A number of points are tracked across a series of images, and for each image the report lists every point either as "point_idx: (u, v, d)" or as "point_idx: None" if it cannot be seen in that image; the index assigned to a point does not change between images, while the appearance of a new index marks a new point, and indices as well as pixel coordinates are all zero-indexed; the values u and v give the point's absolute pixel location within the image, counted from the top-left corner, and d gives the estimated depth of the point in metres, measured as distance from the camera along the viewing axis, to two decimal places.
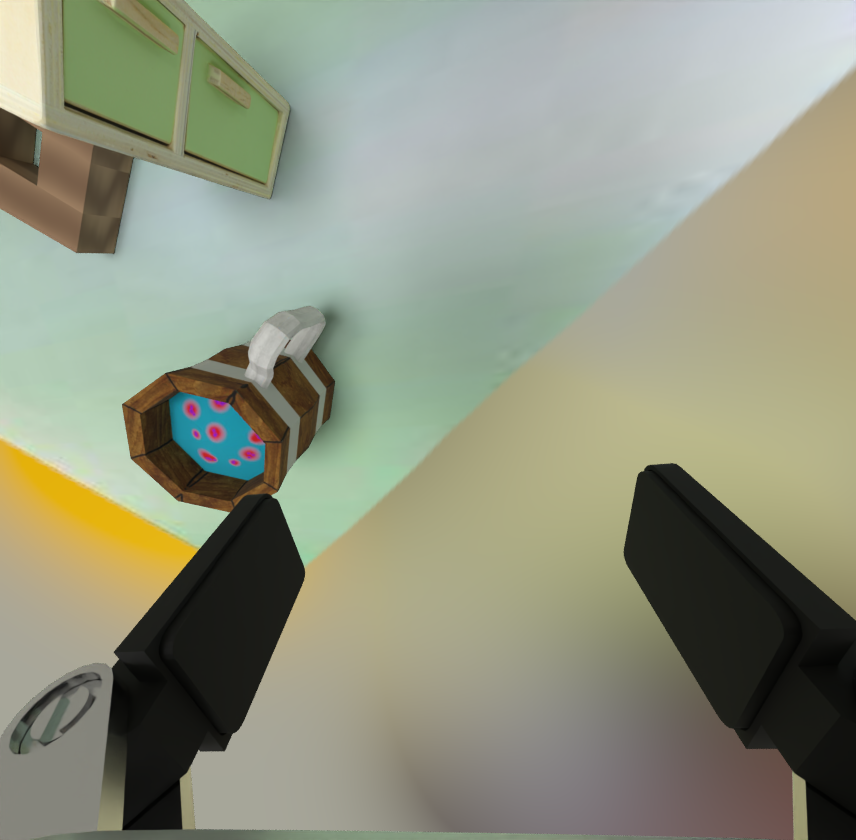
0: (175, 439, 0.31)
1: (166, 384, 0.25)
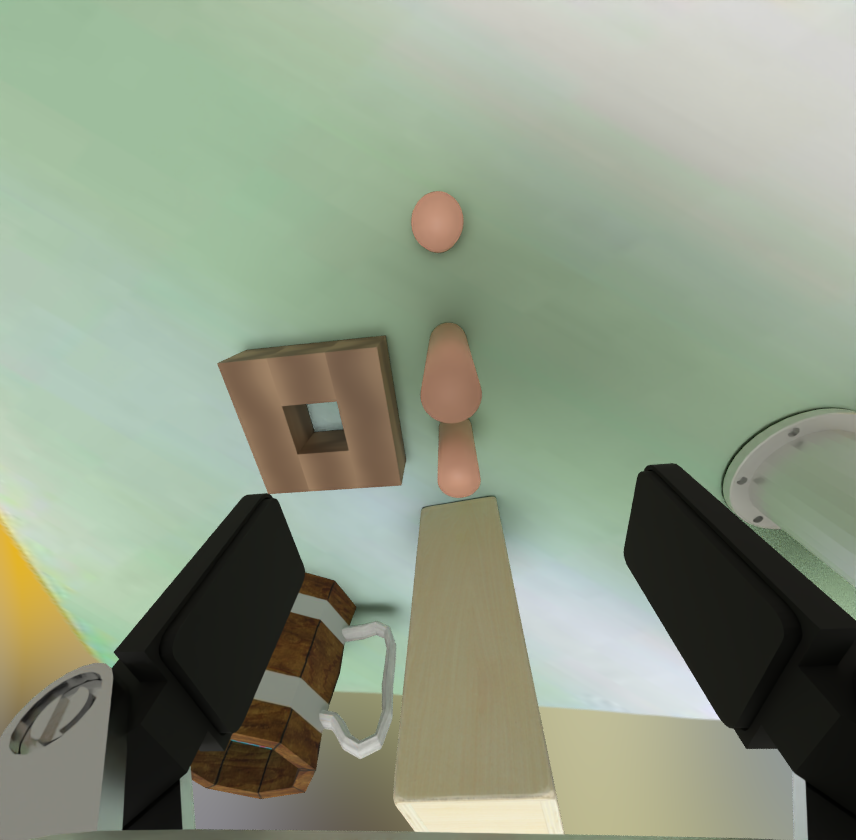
0: None
1: (270, 744, 0.27)
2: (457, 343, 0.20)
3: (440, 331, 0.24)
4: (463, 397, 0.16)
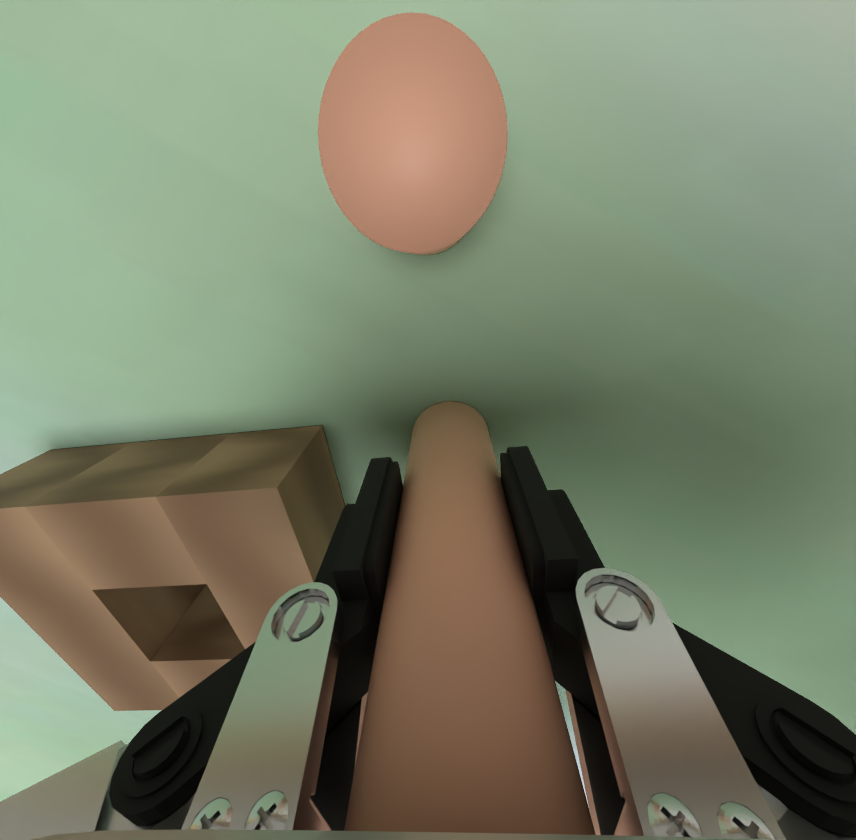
0: None
1: None
2: (483, 545, 0.06)
3: (432, 443, 0.10)
4: None
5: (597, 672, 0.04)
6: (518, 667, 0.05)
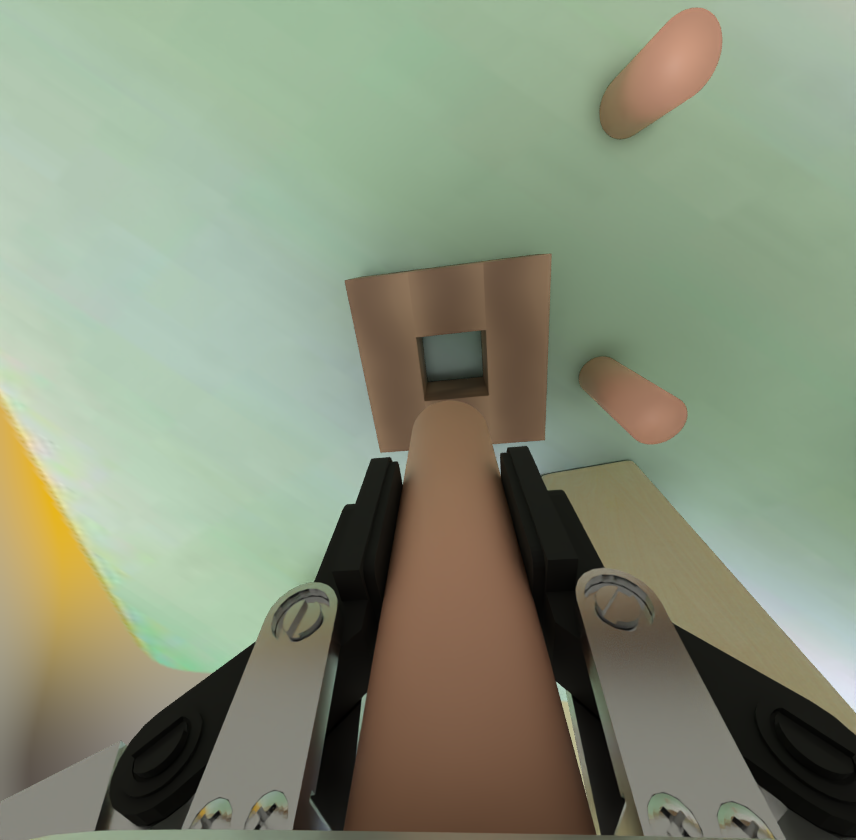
0: None
1: None
2: (483, 544, 0.06)
3: (432, 442, 0.10)
4: None
5: (597, 672, 0.04)
6: (519, 667, 0.05)
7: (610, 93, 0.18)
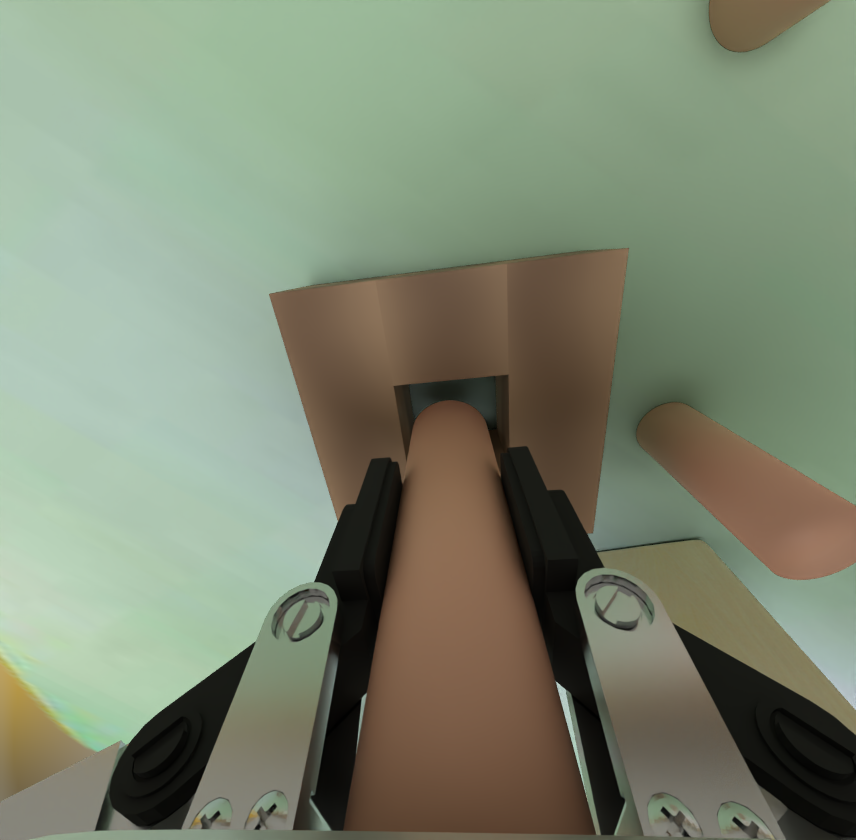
0: None
1: None
2: (483, 544, 0.06)
3: (432, 442, 0.10)
4: None
5: (597, 672, 0.04)
6: (518, 666, 0.05)
7: None
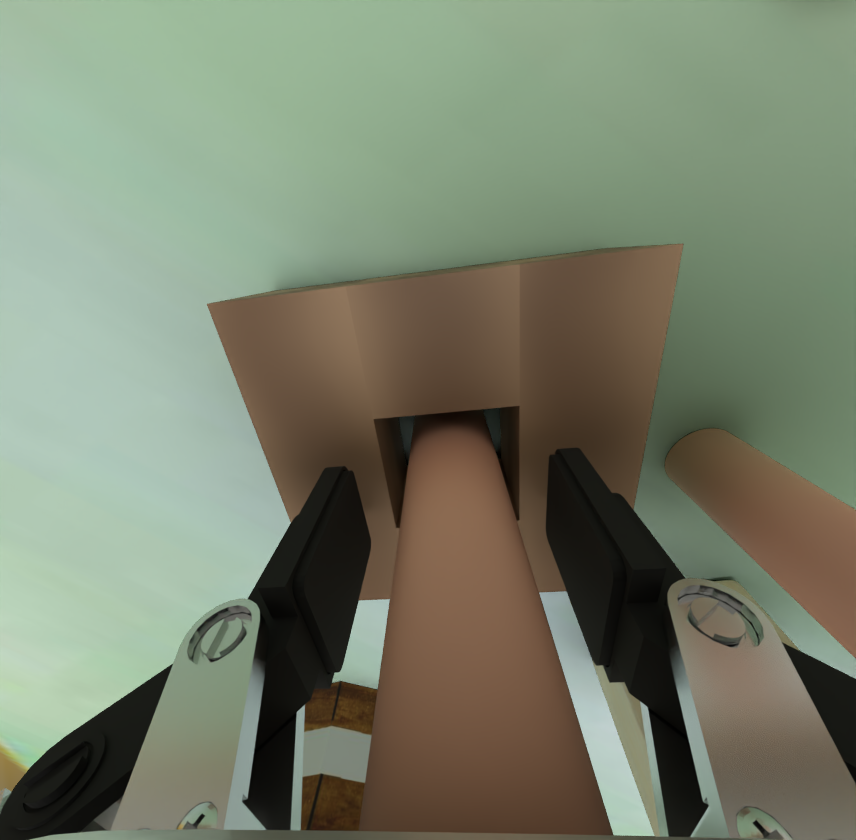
0: None
1: None
2: (480, 494, 0.08)
3: (435, 421, 0.11)
4: None
5: (687, 677, 0.04)
6: (509, 574, 0.06)
7: None
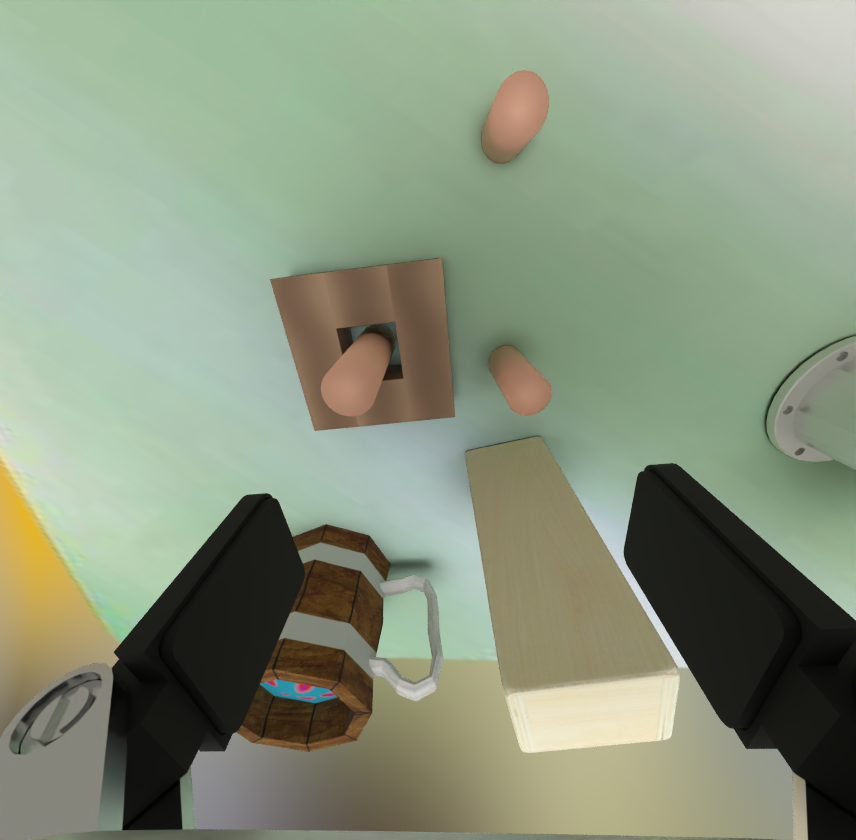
0: None
1: (328, 684, 0.26)
2: (369, 344, 0.22)
3: (363, 332, 0.26)
4: (359, 393, 0.18)
5: None
6: (368, 354, 0.20)
7: (484, 127, 0.22)
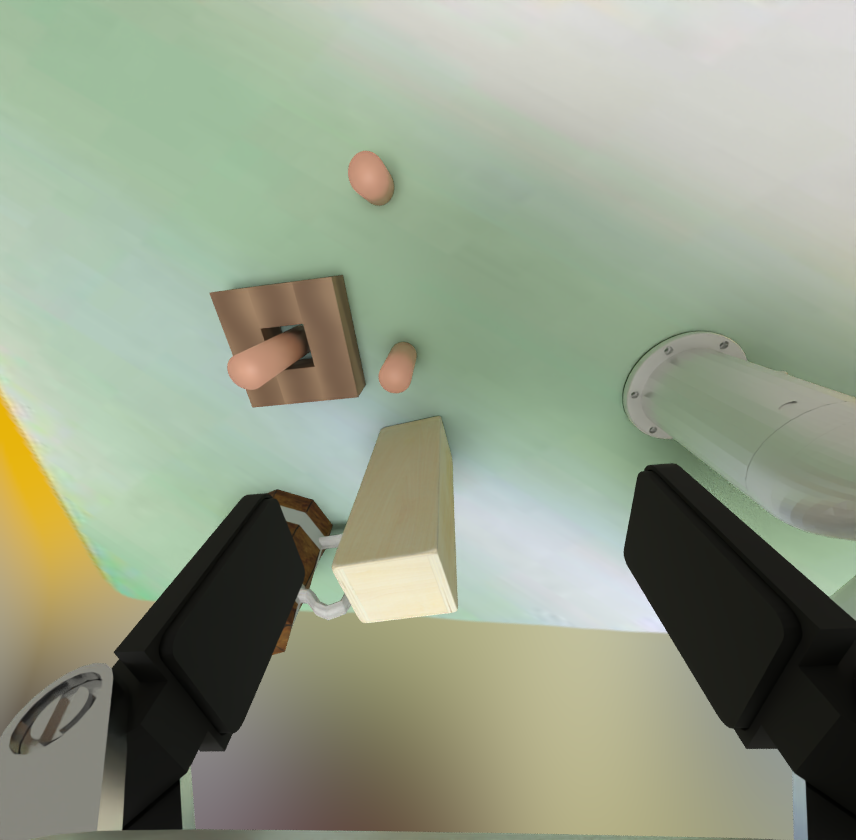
0: None
1: None
2: (276, 340, 0.31)
3: (283, 332, 0.34)
4: (253, 373, 0.27)
5: None
6: (269, 346, 0.29)
7: None
